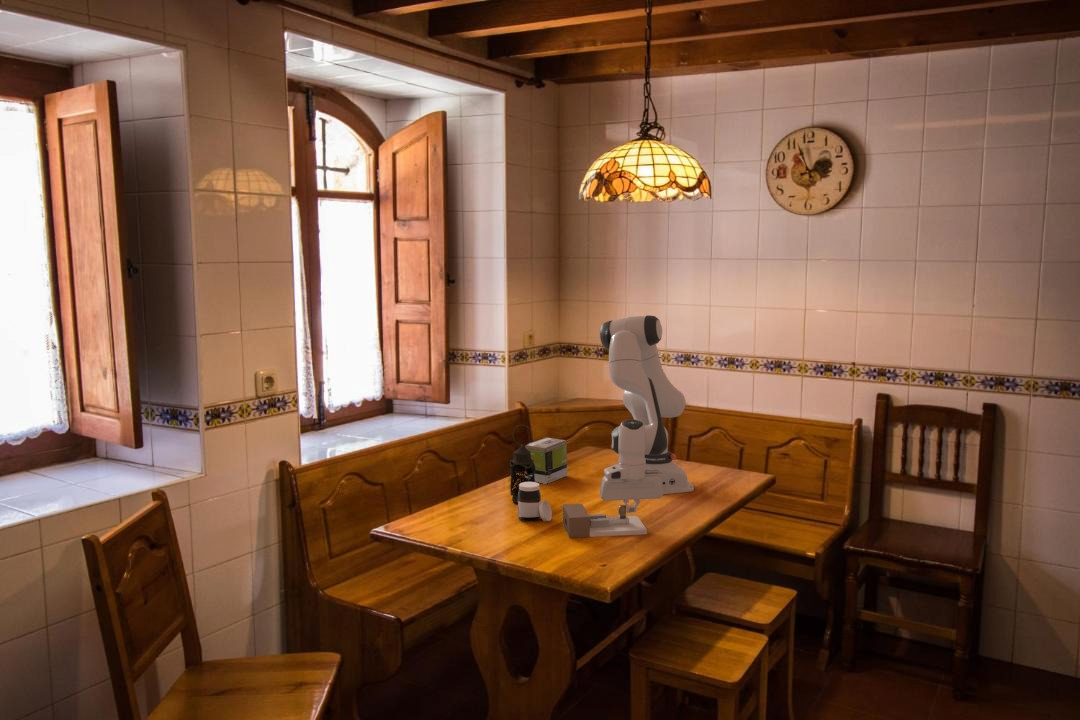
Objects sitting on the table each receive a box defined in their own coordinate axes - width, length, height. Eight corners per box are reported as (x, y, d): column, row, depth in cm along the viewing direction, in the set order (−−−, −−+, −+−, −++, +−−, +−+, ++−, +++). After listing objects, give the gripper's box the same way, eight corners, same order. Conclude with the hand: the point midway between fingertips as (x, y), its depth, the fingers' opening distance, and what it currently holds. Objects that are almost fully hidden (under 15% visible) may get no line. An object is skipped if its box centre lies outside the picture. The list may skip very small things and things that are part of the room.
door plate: (636, 520, 289) (637, 501, 288) (647, 534, 275) (647, 514, 274) (562, 523, 286) (562, 504, 285) (569, 537, 272) (569, 517, 271)
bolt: (627, 521, 282) (627, 504, 282) (628, 524, 280) (629, 506, 279) (597, 523, 281) (597, 505, 280) (598, 525, 279) (598, 508, 278)
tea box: (547, 472, 348) (547, 436, 346) (567, 476, 342) (567, 439, 340) (524, 481, 336) (524, 443, 334) (545, 485, 330) (545, 447, 328)
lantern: (505, 503, 308) (504, 426, 304) (514, 496, 316) (514, 421, 312) (531, 506, 304) (530, 428, 300) (540, 499, 313) (539, 423, 309)
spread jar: (517, 513, 296) (517, 480, 295) (550, 512, 297) (550, 479, 295) (519, 525, 284) (518, 490, 283) (553, 524, 285) (553, 489, 284)
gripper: (660, 467, 283) (659, 508, 285) (599, 469, 281) (598, 510, 283) (665, 472, 277) (665, 513, 279) (603, 474, 274) (602, 516, 276)
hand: (631, 512), depth 281 cm, fingers closed
